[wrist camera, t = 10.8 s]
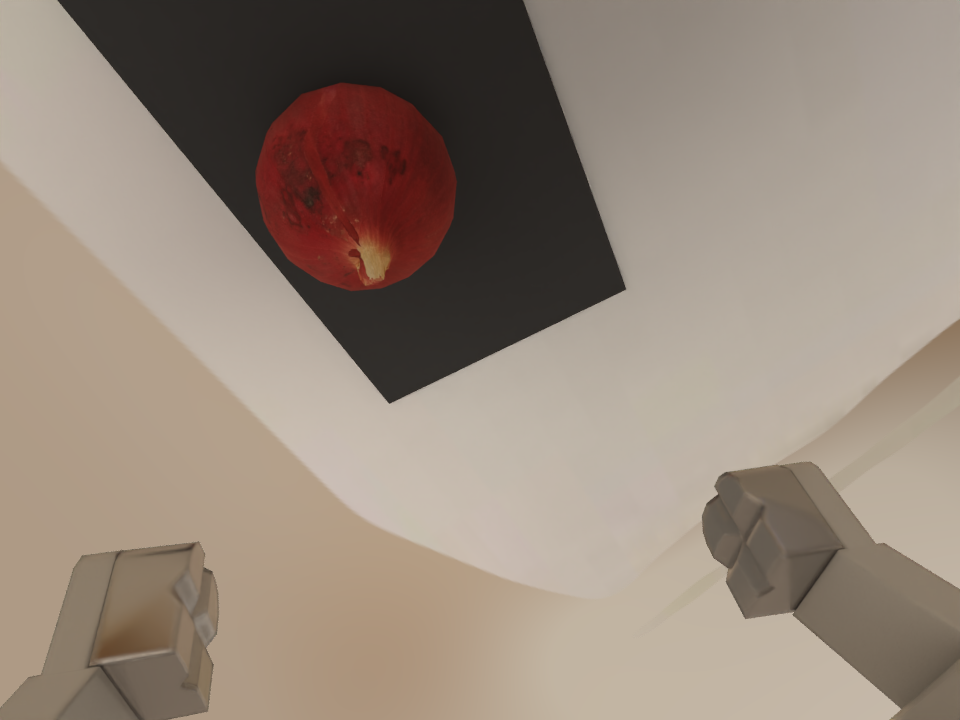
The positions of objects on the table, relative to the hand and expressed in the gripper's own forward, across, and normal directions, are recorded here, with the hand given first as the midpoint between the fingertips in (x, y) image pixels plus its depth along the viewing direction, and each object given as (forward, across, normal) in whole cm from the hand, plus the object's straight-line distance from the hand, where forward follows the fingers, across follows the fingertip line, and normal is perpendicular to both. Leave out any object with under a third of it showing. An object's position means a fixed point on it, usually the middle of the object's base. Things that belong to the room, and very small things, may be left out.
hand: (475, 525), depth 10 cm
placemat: (+17, 0, +1) cm, 17 cm away
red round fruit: (+16, +1, +1) cm, 17 cm away
